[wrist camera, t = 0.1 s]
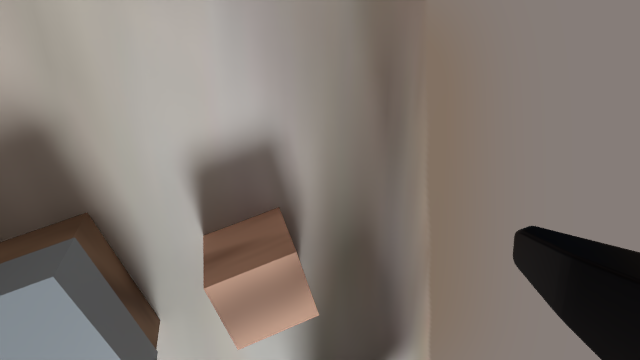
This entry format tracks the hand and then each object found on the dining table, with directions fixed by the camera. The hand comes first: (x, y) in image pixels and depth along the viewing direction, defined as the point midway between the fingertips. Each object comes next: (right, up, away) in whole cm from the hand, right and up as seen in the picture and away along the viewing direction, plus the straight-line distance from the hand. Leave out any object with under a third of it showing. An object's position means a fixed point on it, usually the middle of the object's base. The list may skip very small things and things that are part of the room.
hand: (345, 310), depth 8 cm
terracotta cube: (-5, -2, +16) cm, 17 cm away
